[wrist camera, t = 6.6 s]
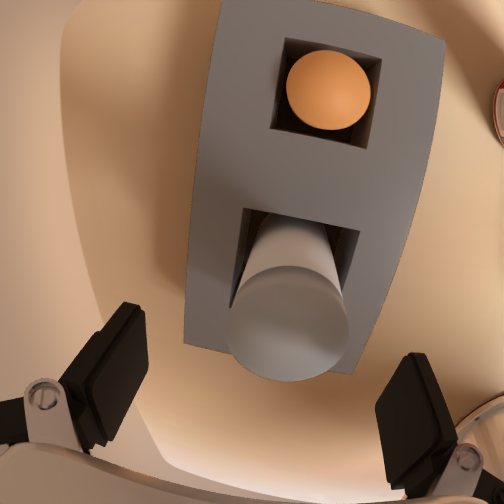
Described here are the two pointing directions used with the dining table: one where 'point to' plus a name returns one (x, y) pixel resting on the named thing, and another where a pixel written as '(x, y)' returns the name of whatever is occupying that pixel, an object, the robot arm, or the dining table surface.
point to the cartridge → (288, 303)
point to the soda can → (499, 111)
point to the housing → (308, 156)
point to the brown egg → (327, 90)
